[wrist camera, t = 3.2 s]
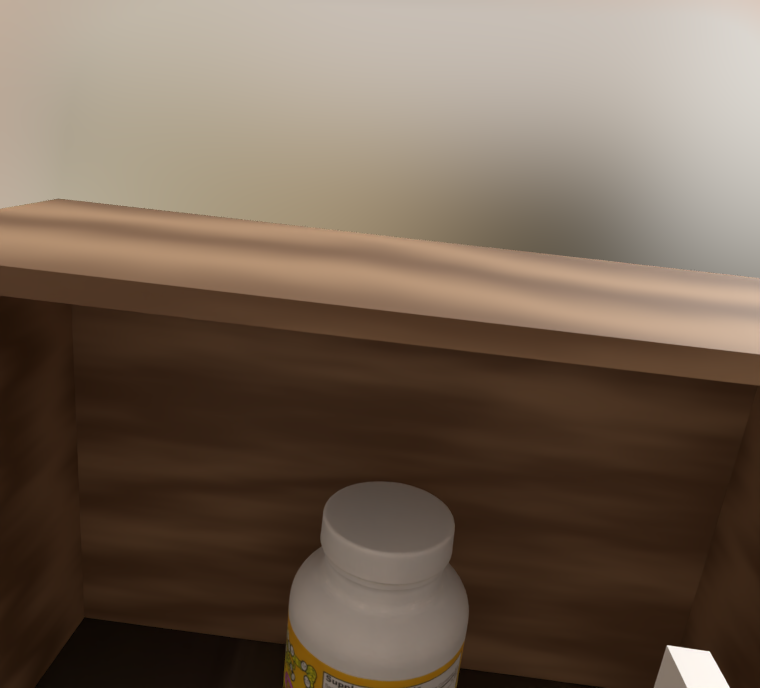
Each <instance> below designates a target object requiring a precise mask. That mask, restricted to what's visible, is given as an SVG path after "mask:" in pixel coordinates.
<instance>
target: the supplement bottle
mask: <svg viewBox="0 0 760 688" xmlns="http://www.w3.org/2000/svg"><path fill="white" fill-rule="evenodd" d="M454 532H455V523H454V518H453V515H452V513H451V511H450V510H449V508H448V507H447V506H446V505H445V504H444V503H443V502H442V501H441V500H440V499H438V498H437V497H435V496H434V495H432V494H430V493H429V492H427V491H424V490H422V489H419V488H417V487H414V486H411V485H407V484H402V483H396V482H385V481H375V482H364V483H357V484H354V485H350V486H347V487H345V488H343V489H341V490H339V491H337V492H336V493H335V494H334V495H332V496H331V497H330V498H329V500H328V501H327V502H326V504H325V507H324V510H323V519H322V528H321V536H320V540H321V545H322V546H321V547H320V548H318V549H317V550H316V551H314V552H313V553H312V554H311V555H310V556H309V557H308V558H307V559H306V560H305V561H304V563H303V564H302V565H301V567H300V568H299V570H298V571H297V573H296V575H295V578H294V580H293V583H292V587H291V591H290V598H289V608H288V624H287V640H286V654H285V666H284V680H283V688H456V687H457V681H458V675H459V670H460V664H461V658H462V653H463V647H464V642H465V636H466V631H467V625H468V618H469V605H468V598H467V594H466V590H465V588H464V585H463V583H462V581H461V579H460V577H459V576H458V574H457V572H456V571H455V570H454V568H453V567H452V566H451V565H450V564H449V561H450V559H451V555H452V549H453V539H454Z"/></svg>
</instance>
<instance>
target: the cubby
mask: <svg viewBox="0 0 760 688" xmlns="http://www.w3.org/2000/svg"><path fill="white" fill-rule="evenodd" d="M375 481H385V482H396V483H402V484H407V485H411V486H414V487H417V488H419V489H422V490H424V491H427V492H429V493H430V494H432V495H434V496H435V497H437V498H438V499H440V500H441V501H442V502H443V503H444V504H445V505H446V506H447V507H448V508H449V510H450V511H451V513H452V515H453V518H454V523H455V532H454V539H453V549H452V555H451V559H450V561H449V564H450V565H451V566H452V567H453V568H454V570H455V571H456V572H457V574H458V576H459V577H460V579H461V581H462V583H463V585H464V588H465V590H466V594H467V598H468V605H469V618H468V625H467V631H466V636H465V642H464V647H463V653H462V658H461V664H460V668H464V669H471V670H479V671H486V672H494V673H501V674H509V675H516V676H523V677H531V678H538V679H546V680H553V681H560V682H568V683H575V684H583V685H590V686H598V687H605V688H654V685H655V682H656V679H657V676H658V672H659V669H660V666H661V663H662V659H663V656H664V653H665V650H666V646H667V645H669V646H676V647H683V648H689V649H696V650H703V651H710V653H711V655H712V657H713V658H714V660H715V662H716V664H717V666H718V667H719V669H720V671H721V673H722V675H723V676H724V678H725V680H726V682H727V684H728V685H729V687H730V688H760V278H753V277H745V276H736V275H727V274H718V273H710V272H700V271H692V270H682V269H674V268H665V267H656V266H648V265H638V264H630V263H621V262H611V261H604V260H595V259H585V258H577V257H568V256H559V255H550V254H541V253H532V252H524V251H514V250H507V249H498V248H489V247H480V246H471V245H462V244H454V243H445V242H436V241H426V240H418V239H409V238H401V237H392V236H383V235H374V234H365V233H357V232H348V231H338V230H330V229H321V228H311V227H303V226H295V225H286V224H277V223H268V222H258V221H251V220H242V219H233V218H224V217H215V216H206V215H198V214H188V213H179V212H170V211H162V210H153V209H145V208H136V207H127V206H118V205H109V204H101V203H92V202H83V201H73V200H65V199H54V200H48V201H43V202H37V203H31V204H25V205H20V206H14V207H8V208H2V209H0V688H34V687H35V686H36V685H37V683H38V682H39V680H40V679H41V678H42V676H43V675H44V673H45V672H46V671H47V669H48V668H49V666H50V665H51V663H52V662H53V661H54V659H55V658H56V656H57V655H58V654H59V652H60V651H61V649H62V648H63V647H64V645H65V644H66V642H67V641H68V640H69V638H70V637H71V635H72V634H73V633H74V631H75V630H76V628H77V627H78V625H79V624H80V623H81V621H82V620H83V618H84V617H86V618H93V619H101V620H108V621H115V622H123V623H130V624H138V625H145V626H152V627H160V628H167V629H175V630H182V631H190V632H197V633H204V634H212V635H219V636H227V637H234V638H241V639H249V640H256V641H264V642H271V643H279V644H286V640H287V624H288V608H289V598H290V591H291V587H292V583H293V580H294V578H295V575H296V573H297V571H298V570H299V568H300V567H301V565H302V564H303V563H304V561H305V560H306V559H307V558H308V557H309V556H310V555H311V554H312V553H313V552H314V551H316V550H317V549H318V548H320V547H321V546H322V545H321V540H320V536H321V528H322V519H323V510H324V507H325V504H326V502H327V501H328V500H329V498H330V497H331V496H332V495H334V494H335V493H336V492H337V491H339V490H341V489H343V488H345V487H347V486H350V485H354V484H357V483H364V482H375Z"/></svg>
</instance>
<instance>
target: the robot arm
mask: <svg viewBox="0 0 760 688" xmlns="http://www.w3.org/2000/svg"><path fill="white" fill-rule="evenodd" d="M654 688H730V687H729V685H728V684H727V682H726V680H725V678H724V676H723V675H722V673H721V671H720V669H719V667H718V666H717V664H716V662H715V660H714V658H713V657H712V655H711V653H710V651H703V650H696V649H689V648H683V647H676V646H669V645H667V646H666V650H665V653H664V656H663V659H662V663H661V666H660V669H659V672H658V676H657V679H656V682H655V685H654Z"/></svg>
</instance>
